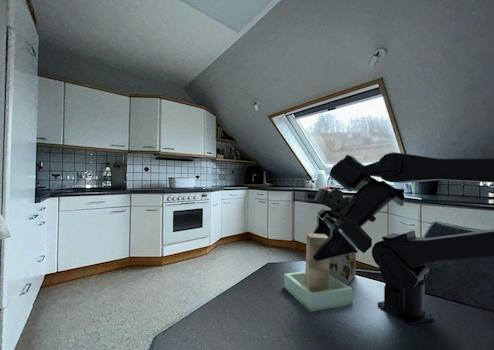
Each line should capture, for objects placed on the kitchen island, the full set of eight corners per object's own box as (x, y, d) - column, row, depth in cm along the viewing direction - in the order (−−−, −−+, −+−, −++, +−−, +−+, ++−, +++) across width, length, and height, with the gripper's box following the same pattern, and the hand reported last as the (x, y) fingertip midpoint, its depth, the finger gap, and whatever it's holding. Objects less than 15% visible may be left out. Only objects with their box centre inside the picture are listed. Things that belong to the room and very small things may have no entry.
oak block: (323, 288, 49) (324, 234, 49) (328, 297, 45) (329, 238, 45) (305, 287, 49) (306, 233, 50) (308, 296, 45) (309, 237, 46)
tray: (320, 282, 53) (320, 269, 53) (352, 304, 44) (353, 288, 44) (283, 287, 50) (284, 273, 50) (310, 311, 41) (310, 295, 41)
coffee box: (348, 285, 51) (349, 215, 52) (320, 277, 55) (322, 212, 56) (356, 276, 58) (357, 214, 60) (331, 269, 62) (333, 212, 64)
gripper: (326, 177, 57) (282, 217, 58) (354, 173, 38) (288, 233, 39) (357, 209, 56) (311, 250, 56) (401, 222, 37) (332, 282, 38)
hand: (310, 252), depth 47 cm, fingers open, 8 cm apart
